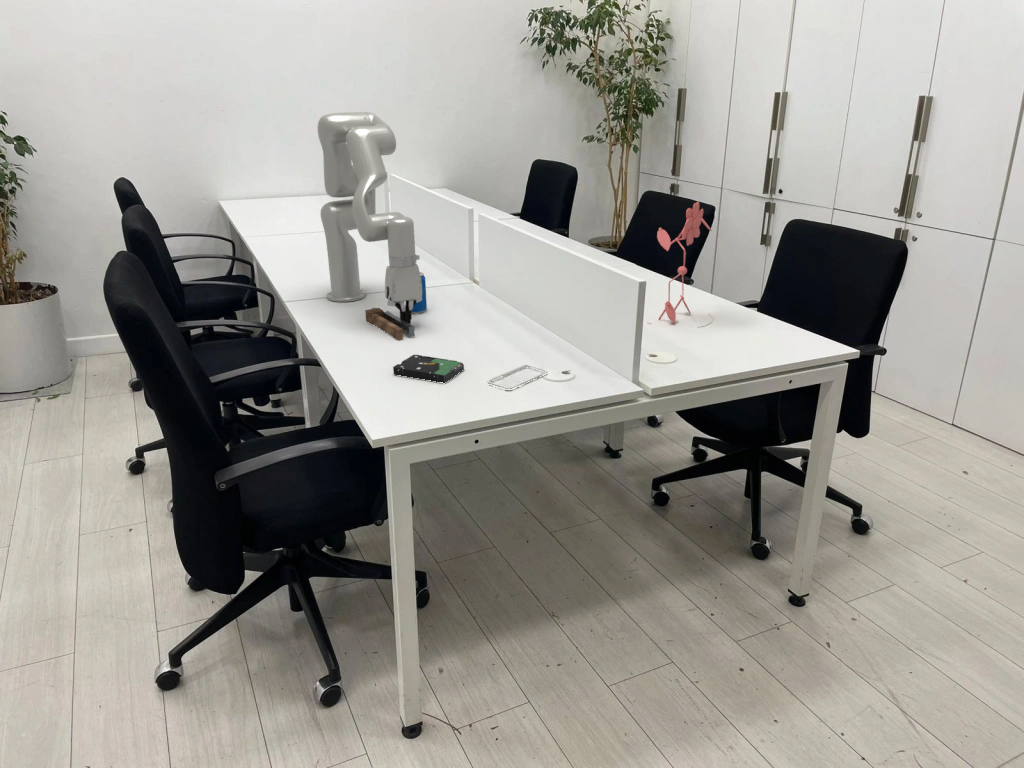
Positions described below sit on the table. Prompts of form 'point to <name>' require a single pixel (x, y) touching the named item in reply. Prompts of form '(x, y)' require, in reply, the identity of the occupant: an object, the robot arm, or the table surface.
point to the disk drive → (428, 368)
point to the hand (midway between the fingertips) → (406, 322)
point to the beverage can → (422, 304)
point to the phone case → (514, 371)
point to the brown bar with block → (383, 323)
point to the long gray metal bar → (400, 323)
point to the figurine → (690, 232)
